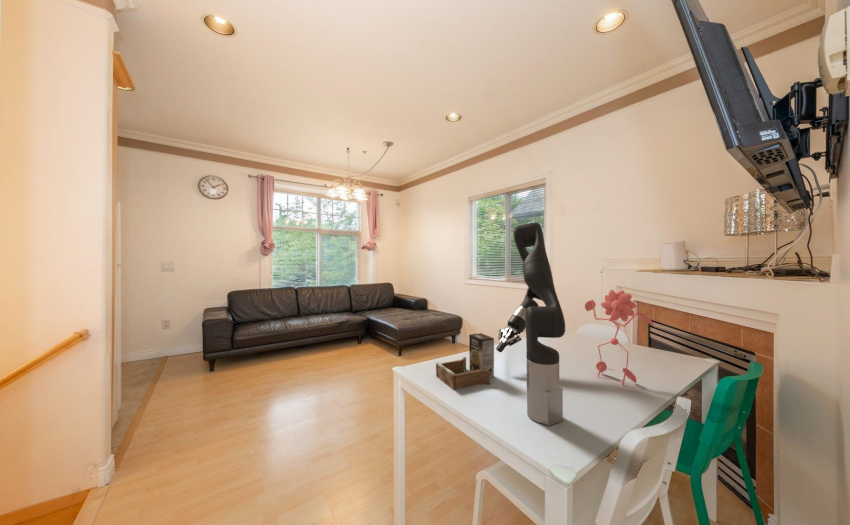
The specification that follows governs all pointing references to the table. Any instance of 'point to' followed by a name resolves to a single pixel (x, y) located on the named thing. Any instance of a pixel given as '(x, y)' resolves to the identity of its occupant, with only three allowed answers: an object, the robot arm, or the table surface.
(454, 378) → the bay
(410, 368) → the table surface
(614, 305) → the pink flower stick figure
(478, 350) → the coffee box
